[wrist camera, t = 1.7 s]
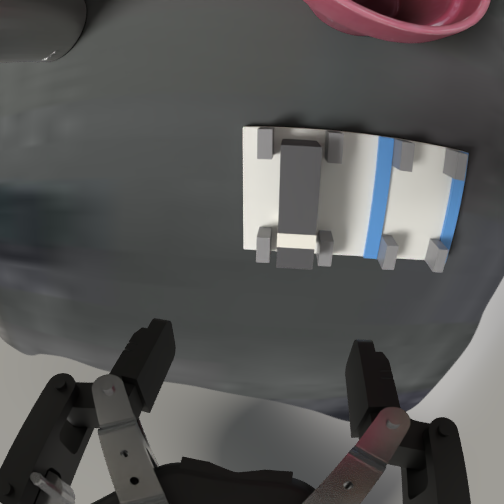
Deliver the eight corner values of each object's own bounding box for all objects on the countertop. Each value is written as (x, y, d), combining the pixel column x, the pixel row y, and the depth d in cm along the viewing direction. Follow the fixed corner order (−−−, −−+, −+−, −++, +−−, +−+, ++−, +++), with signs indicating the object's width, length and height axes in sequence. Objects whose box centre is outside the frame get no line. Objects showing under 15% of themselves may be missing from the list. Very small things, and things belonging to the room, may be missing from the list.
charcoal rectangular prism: (282, 138, 25) (279, 145, 21) (317, 140, 25) (323, 147, 21) (278, 242, 30) (275, 267, 25) (310, 243, 30) (312, 269, 25)
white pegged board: (244, 126, 26) (238, 128, 23) (462, 150, 24) (480, 157, 21) (245, 244, 32) (239, 261, 29) (441, 256, 29) (454, 272, 26)
